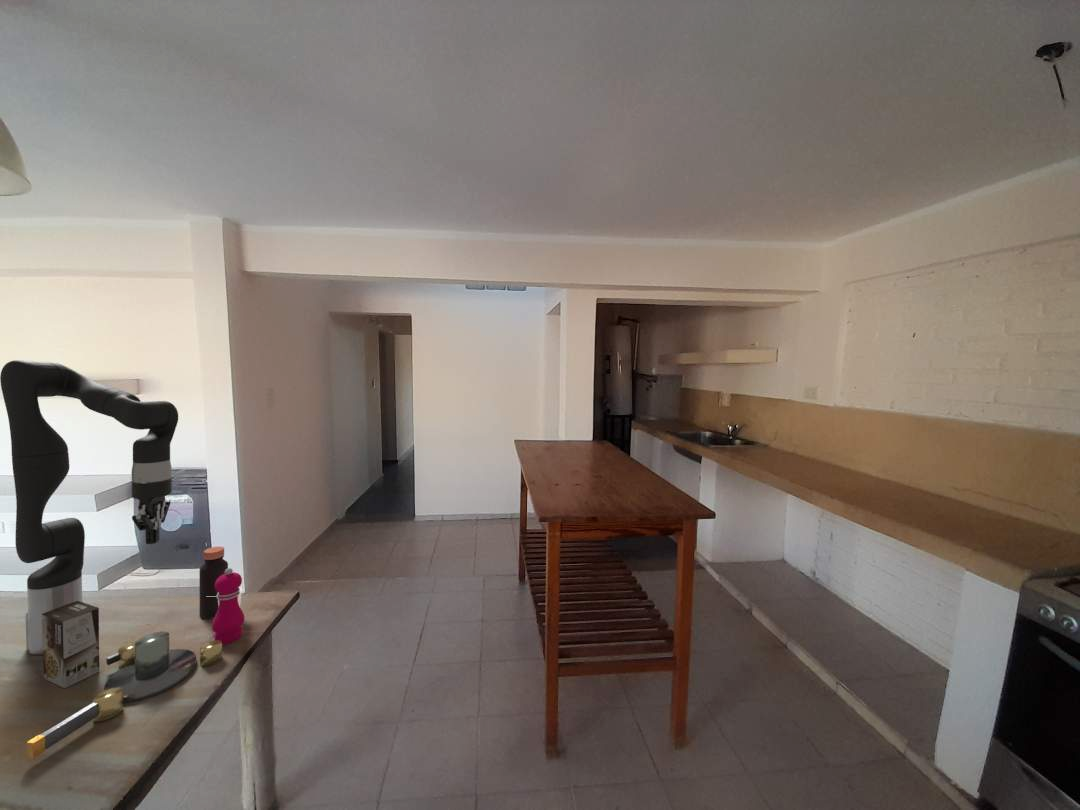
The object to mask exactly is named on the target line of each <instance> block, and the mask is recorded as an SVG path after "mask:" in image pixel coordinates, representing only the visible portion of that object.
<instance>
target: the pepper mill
mask: <svg viewBox="0 0 1080 810" xmlns="http://www.w3.org/2000/svg"><path fill="white" fill-rule="evenodd" d="M242 583H243V577H242V575H241V574H240V573H238V572H235V571H233V568H230V567H228V569H226V570H225V574H223V575H221V576H220V577H219V578H218V579H217V580H216V582H215V589H216V591H218V593H217V599H218V600H219V608H218V611H217V613H216V615H215V617H214V618H213V621H212V623H211V630H212V632H213V633H214V635H213V638H215V640H220V641H222V645H226V644H227V645H228V644H230V643H233V642H235V641H237V640H239V639H240V638H241V637H242V635H243V627H242V626H243V624H244V622H245V615H244V612H243V609H242V608H241V605H240V606H239V604H238V595H239V594H240V592H239V590H240V588H239V587H241V585H242Z"/></svg>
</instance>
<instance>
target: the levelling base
mask: <svg viewBox="0 0 1080 810" xmlns="http://www.w3.org/2000/svg"><path fill="white" fill-rule="evenodd" d="M117 651H118V652H116V653H114V654H112V655H110V656H107V657H106V665H107V666H110V665H112V664H114V663H116V662H118V663H117V665H118V668H119V670H117V671H116V672H114V673H113V674H112V675H111V676H110V677H109V678H108V680H106V682H105V684H104V687H103V692H104V691H106V690H108V689H112V688H117V687H120V688H122V689H123V704H128V703H135V702H139V701H143V700H147V699H150V698H152V697H153V698H154V697H156V696H158V695H160V694H163V693H164V692H167V691H169V690H171V689H173V688H174V687H176V686H178V685H179V684H181V683H182V682H184V680H186V679H187V678H188V677H189V676H190V675H192V673H193V672H194V670H195V669H196V665H197V655H196V653H195V652H194V651H192V650H189V649H185V648H177V649H176V648H175V649H170V633H169V632H168V631H158V632H157V631H156V632H153V633H149V634H146V635H144V636H142V637H141V638H139V639H137V640H136V641H135V640H134V641H132V642H129V643H126V644H123V645H122V646H121V647H119V648H118V650H117ZM222 659H223V644H222V641H220V640H215V638H214V637H211V638H210V639H209V641H208V642H206V643H204V644H202V645H201V646H200V649H199V665H200V666H201V667H203V668H204V667H206V668H207V667H212V666H213V665H216V664H217V663H219V662H221V660H222Z"/></svg>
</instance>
